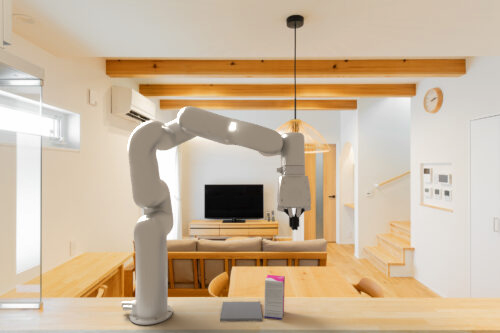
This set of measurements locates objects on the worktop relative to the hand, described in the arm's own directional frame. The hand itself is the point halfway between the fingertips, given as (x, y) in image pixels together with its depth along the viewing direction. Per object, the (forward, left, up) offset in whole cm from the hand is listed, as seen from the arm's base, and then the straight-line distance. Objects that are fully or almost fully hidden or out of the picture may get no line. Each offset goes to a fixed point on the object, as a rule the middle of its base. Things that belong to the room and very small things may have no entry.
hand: (294, 229), depth 98 cm
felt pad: (-17, +1, -26) cm, 31 cm away
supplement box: (-6, -1, -27) cm, 27 cm away
